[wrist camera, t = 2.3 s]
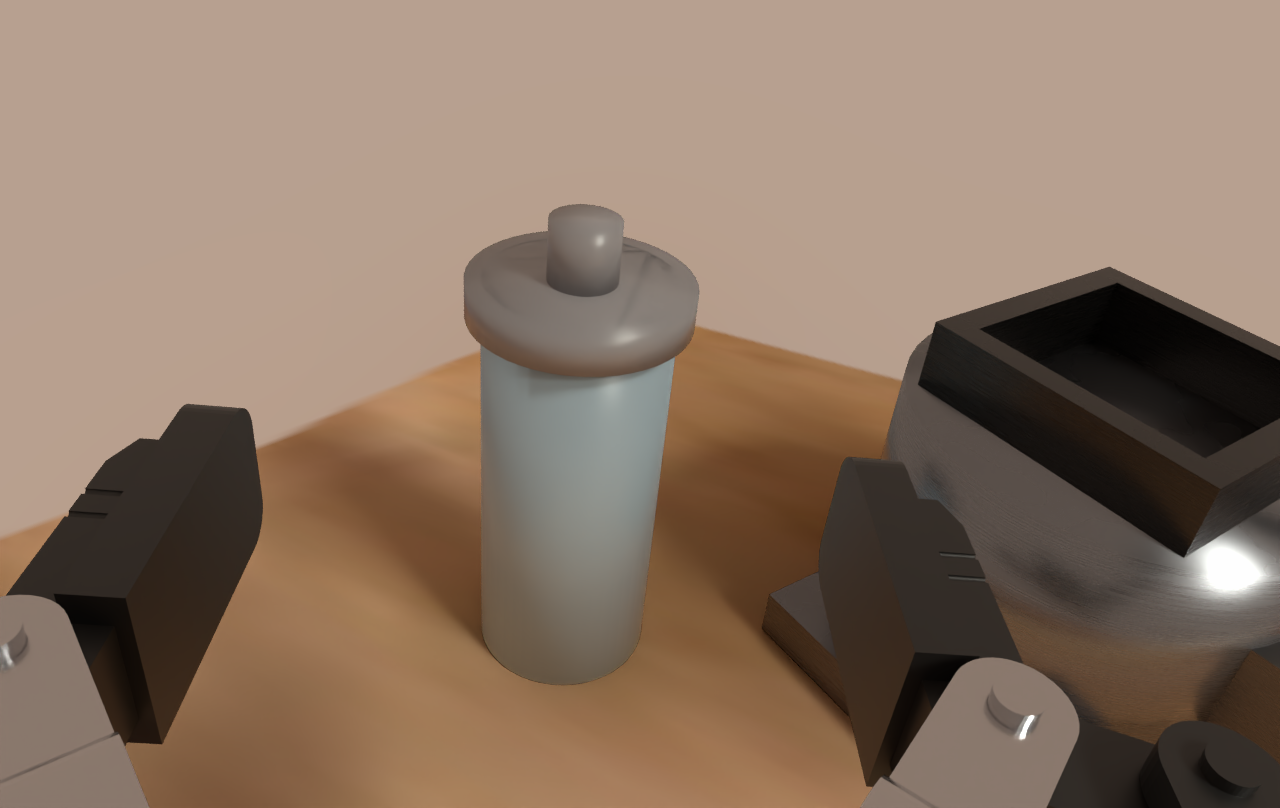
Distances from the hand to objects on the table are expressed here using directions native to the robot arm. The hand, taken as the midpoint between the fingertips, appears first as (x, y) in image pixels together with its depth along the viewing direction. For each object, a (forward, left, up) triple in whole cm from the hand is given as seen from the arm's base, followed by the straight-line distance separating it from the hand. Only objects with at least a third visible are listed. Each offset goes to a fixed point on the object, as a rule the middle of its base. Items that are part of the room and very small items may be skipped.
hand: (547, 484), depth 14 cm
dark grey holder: (-19, -1, -15) cm, 24 cm away
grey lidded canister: (-7, -9, -15) cm, 19 cm away
